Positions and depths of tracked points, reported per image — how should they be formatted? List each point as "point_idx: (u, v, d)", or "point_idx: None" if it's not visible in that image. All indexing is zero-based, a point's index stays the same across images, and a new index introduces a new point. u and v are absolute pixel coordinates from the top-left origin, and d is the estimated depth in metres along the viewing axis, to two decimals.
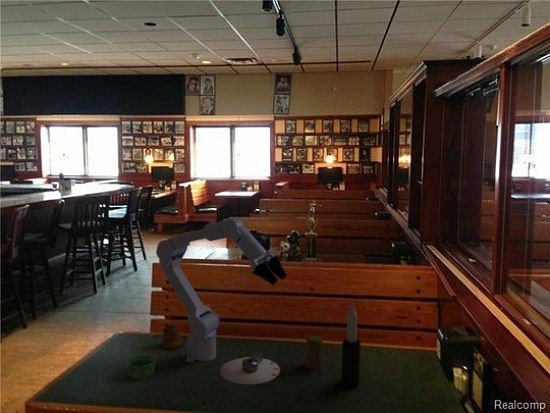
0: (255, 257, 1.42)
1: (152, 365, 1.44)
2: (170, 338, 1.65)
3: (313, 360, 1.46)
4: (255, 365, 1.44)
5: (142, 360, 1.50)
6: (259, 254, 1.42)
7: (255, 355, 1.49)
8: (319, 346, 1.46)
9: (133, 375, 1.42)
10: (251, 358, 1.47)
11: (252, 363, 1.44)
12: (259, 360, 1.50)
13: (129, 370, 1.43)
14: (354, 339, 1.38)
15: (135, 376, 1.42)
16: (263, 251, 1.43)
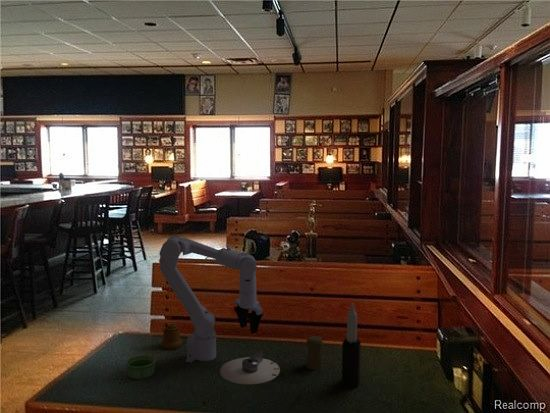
0: (253, 302, 1.53)
1: (152, 365, 1.44)
2: (170, 338, 1.65)
3: (313, 360, 1.46)
4: (255, 365, 1.44)
5: (142, 360, 1.50)
6: (255, 302, 1.54)
7: (255, 355, 1.49)
8: (319, 346, 1.46)
9: (133, 375, 1.42)
10: (251, 358, 1.47)
11: (252, 363, 1.44)
12: (259, 360, 1.50)
13: (129, 370, 1.43)
14: (354, 339, 1.38)
15: (135, 376, 1.42)
16: None
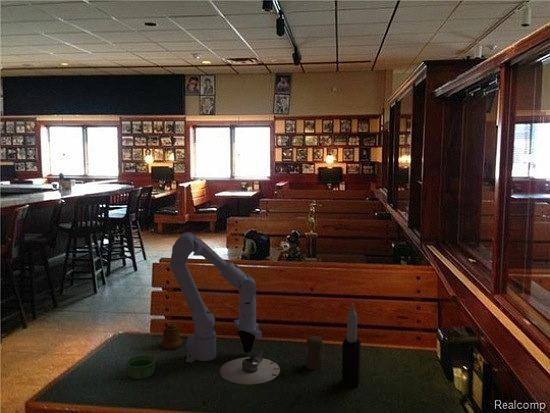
0: (252, 325, 1.54)
1: (152, 365, 1.44)
2: (170, 338, 1.65)
3: (313, 360, 1.46)
4: (255, 365, 1.44)
5: (142, 360, 1.50)
6: (255, 324, 1.55)
7: (255, 355, 1.49)
8: (319, 346, 1.46)
9: (133, 375, 1.42)
10: (251, 358, 1.47)
11: (252, 363, 1.44)
12: (259, 360, 1.50)
13: (129, 370, 1.43)
14: (354, 339, 1.38)
15: (135, 376, 1.42)
16: None
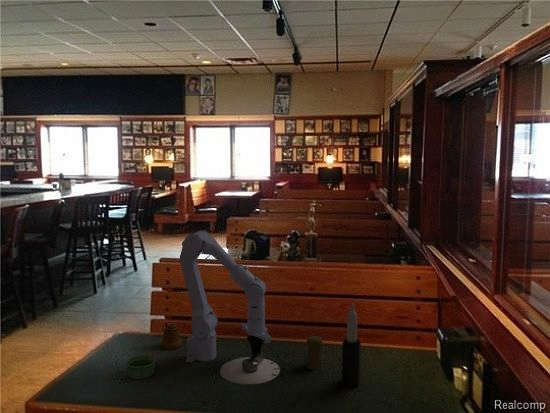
0: (261, 329, 1.50)
1: (152, 365, 1.44)
2: (170, 338, 1.65)
3: (313, 360, 1.46)
4: (255, 365, 1.44)
5: (142, 360, 1.50)
6: (264, 329, 1.51)
7: (255, 355, 1.49)
8: (319, 346, 1.46)
9: (133, 375, 1.42)
10: (251, 358, 1.47)
11: (252, 363, 1.44)
12: (259, 360, 1.50)
13: (129, 370, 1.43)
14: (354, 339, 1.38)
15: (135, 376, 1.42)
16: None
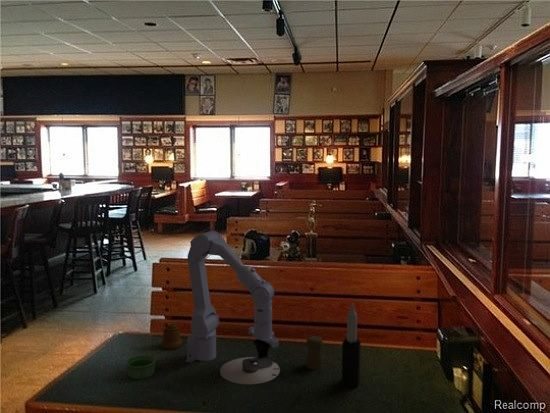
0: (268, 334, 1.46)
1: (152, 365, 1.44)
2: (170, 338, 1.65)
3: (313, 360, 1.46)
4: (250, 366, 1.43)
5: (142, 360, 1.50)
6: (271, 333, 1.47)
7: (260, 357, 1.47)
8: (319, 346, 1.46)
9: (133, 375, 1.42)
10: (253, 359, 1.46)
11: (249, 363, 1.44)
12: (265, 364, 1.47)
13: (129, 370, 1.43)
14: (354, 339, 1.38)
15: (135, 376, 1.42)
16: None
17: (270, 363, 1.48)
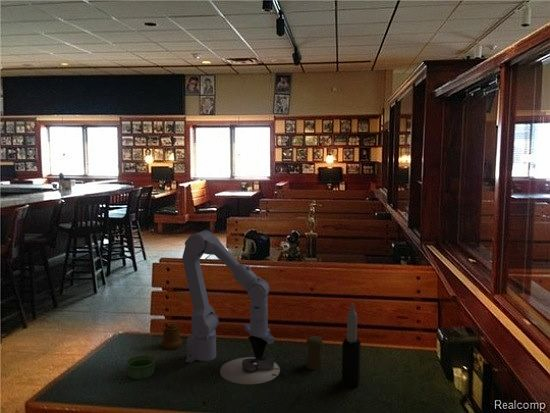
0: (264, 330, 1.48)
1: (152, 365, 1.44)
2: (170, 338, 1.65)
3: (313, 360, 1.46)
4: (247, 366, 1.43)
5: (142, 360, 1.50)
6: (266, 329, 1.49)
7: (261, 359, 1.46)
8: (319, 346, 1.46)
9: (133, 375, 1.42)
10: (253, 359, 1.46)
11: (247, 363, 1.44)
12: (266, 366, 1.46)
13: (129, 370, 1.43)
14: (354, 339, 1.38)
15: (135, 376, 1.42)
16: None
17: (271, 366, 1.46)
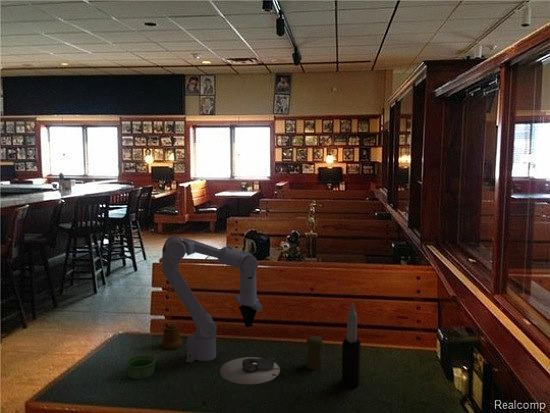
0: (253, 299, 1.56)
1: (152, 365, 1.44)
2: (170, 338, 1.65)
3: (313, 360, 1.46)
4: (247, 366, 1.43)
5: (142, 360, 1.50)
6: (255, 299, 1.58)
7: (261, 359, 1.46)
8: (319, 346, 1.46)
9: (133, 375, 1.42)
10: (253, 359, 1.46)
11: (247, 363, 1.44)
12: (266, 366, 1.46)
13: (129, 370, 1.43)
14: (354, 339, 1.38)
15: (135, 376, 1.42)
16: None
17: (271, 366, 1.46)
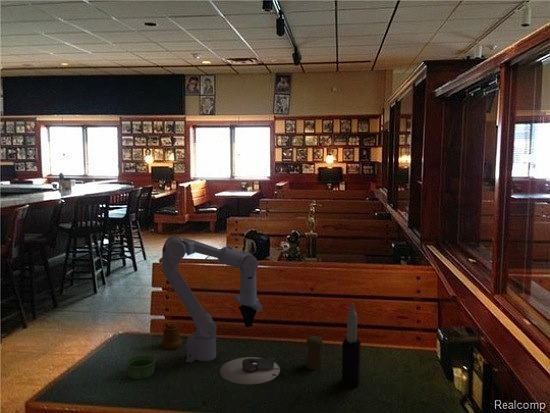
0: (253, 299, 1.56)
1: (152, 365, 1.44)
2: (170, 338, 1.65)
3: (313, 360, 1.46)
4: (247, 366, 1.43)
5: (142, 360, 1.50)
6: (255, 299, 1.58)
7: (261, 359, 1.46)
8: (319, 346, 1.46)
9: (133, 375, 1.42)
10: (253, 359, 1.46)
11: (247, 363, 1.44)
12: (266, 366, 1.46)
13: (129, 370, 1.43)
14: (354, 339, 1.38)
15: (135, 376, 1.42)
16: None
17: (271, 366, 1.46)
